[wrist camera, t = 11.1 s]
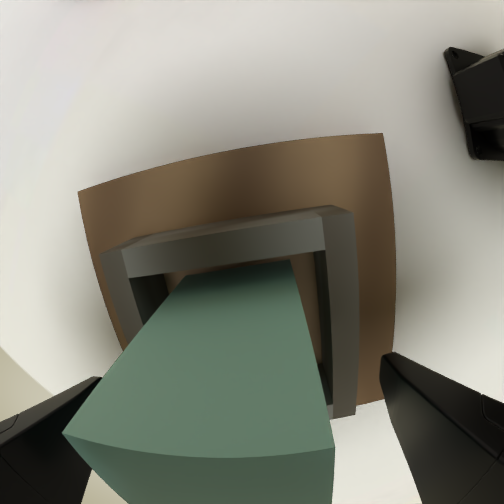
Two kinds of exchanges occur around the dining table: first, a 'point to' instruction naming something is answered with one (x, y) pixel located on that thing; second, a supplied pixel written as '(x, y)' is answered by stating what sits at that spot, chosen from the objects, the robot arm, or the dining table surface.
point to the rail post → (214, 399)
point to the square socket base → (262, 243)
